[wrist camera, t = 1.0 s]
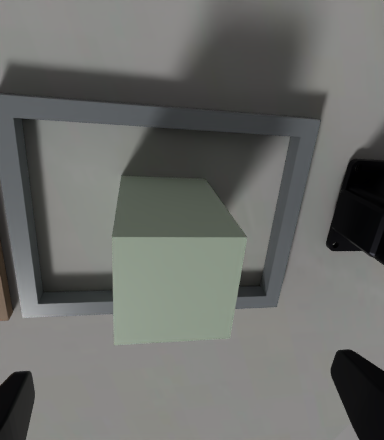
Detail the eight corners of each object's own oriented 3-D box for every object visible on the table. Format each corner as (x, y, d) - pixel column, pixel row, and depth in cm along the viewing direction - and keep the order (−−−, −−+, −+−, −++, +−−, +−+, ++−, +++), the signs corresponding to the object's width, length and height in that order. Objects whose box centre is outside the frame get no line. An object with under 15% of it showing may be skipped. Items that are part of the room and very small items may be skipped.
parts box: (205, 178, 19) (247, 237, 12) (197, 252, 21) (229, 341, 14) (121, 175, 18) (111, 237, 11) (121, 252, 20) (114, 347, 13)
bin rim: (310, 117, 19) (320, 119, 18) (270, 296, 24) (276, 307, 23) (-4, 92, 15) (-14, 93, 14) (28, 305, 21) (22, 317, 19)
